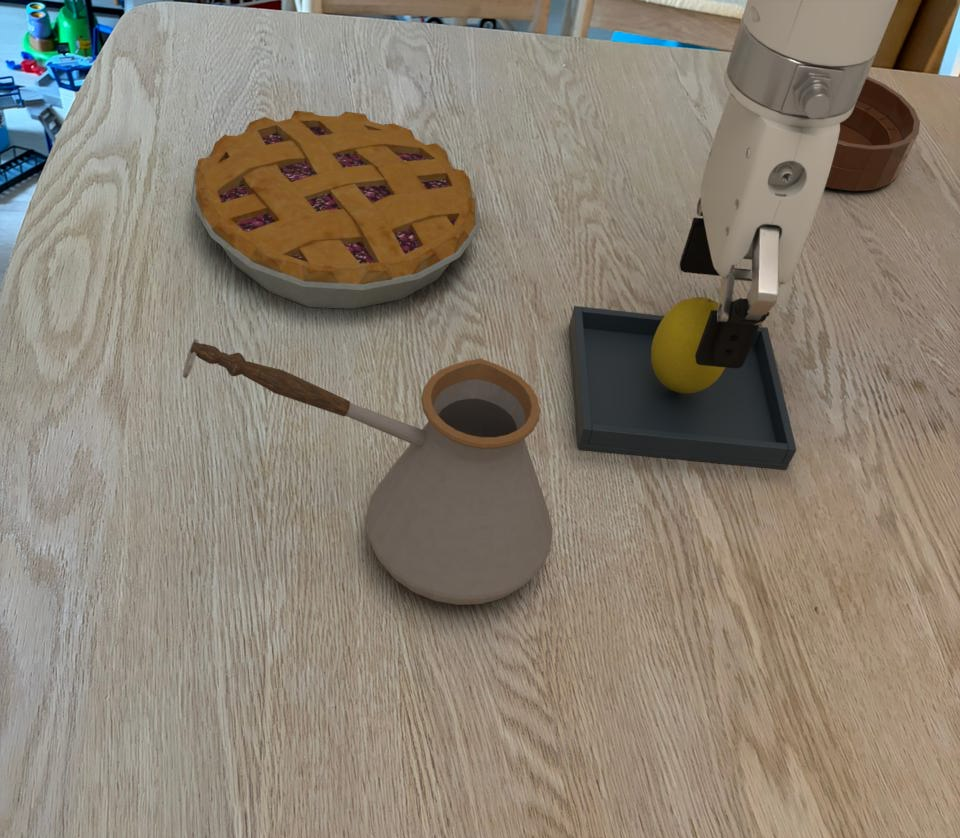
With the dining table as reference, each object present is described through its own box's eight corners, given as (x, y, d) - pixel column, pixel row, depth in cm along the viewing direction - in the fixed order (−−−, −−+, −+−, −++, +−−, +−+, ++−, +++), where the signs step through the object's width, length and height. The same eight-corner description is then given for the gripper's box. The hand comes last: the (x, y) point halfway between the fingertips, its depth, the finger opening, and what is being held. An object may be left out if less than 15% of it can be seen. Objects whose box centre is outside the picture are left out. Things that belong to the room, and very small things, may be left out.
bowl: (880, 120, 107) (900, 76, 103) (913, 203, 99) (936, 157, 95) (744, 102, 105) (759, 56, 102) (766, 184, 97) (783, 137, 94)
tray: (759, 347, 83) (767, 327, 82) (786, 470, 76) (797, 450, 74) (568, 326, 82) (574, 305, 80) (577, 449, 74) (583, 428, 73)
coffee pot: (540, 493, 71) (587, 310, 59) (548, 633, 65) (603, 459, 53) (216, 467, 69) (196, 270, 57) (190, 609, 62) (161, 421, 50)
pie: (527, 271, 85) (538, 216, 81) (289, 358, 76) (288, 300, 72) (375, 131, 94) (378, 75, 90) (144, 194, 84) (136, 133, 80)
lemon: (630, 400, 77) (660, 310, 71) (650, 355, 80) (680, 265, 74) (703, 426, 77) (739, 337, 70) (719, 380, 80) (756, 291, 73)
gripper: (896, 161, 55) (781, 408, 69) (833, -1, 64) (744, 244, 78) (754, 145, 54) (667, 398, 68) (713, -16, 64) (644, 234, 78)
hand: (708, 315), depth 73 cm, fingers open, 9 cm apart
